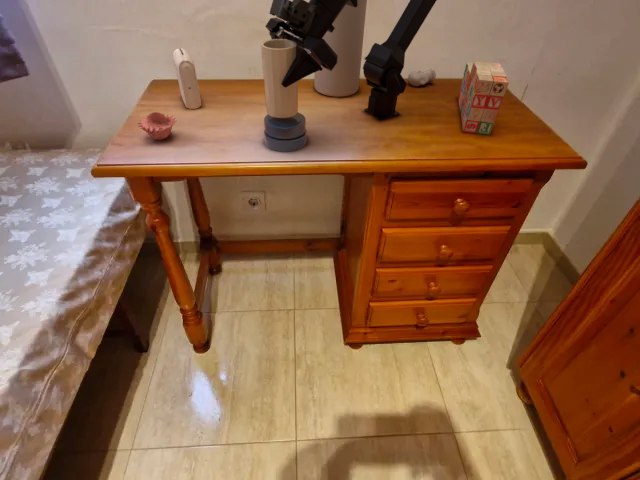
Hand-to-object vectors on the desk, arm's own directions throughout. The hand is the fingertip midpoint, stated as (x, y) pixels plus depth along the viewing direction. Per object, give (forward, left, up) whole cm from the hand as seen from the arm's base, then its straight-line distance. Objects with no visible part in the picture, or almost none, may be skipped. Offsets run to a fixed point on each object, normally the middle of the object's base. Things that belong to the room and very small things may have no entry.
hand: (274, 80), depth 74 cm
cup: (-1, 0, -7) cm, 7 cm away
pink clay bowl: (+21, -14, -13) cm, 29 cm away
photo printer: (+9, -30, -13) cm, 34 cm away
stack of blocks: (-50, +12, -13) cm, 53 cm away
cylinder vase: (-29, -19, -13) cm, 37 cm away
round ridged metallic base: (-2, +1, -13) cm, 13 cm away
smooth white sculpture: (-53, -10, -13) cm, 55 cm away
